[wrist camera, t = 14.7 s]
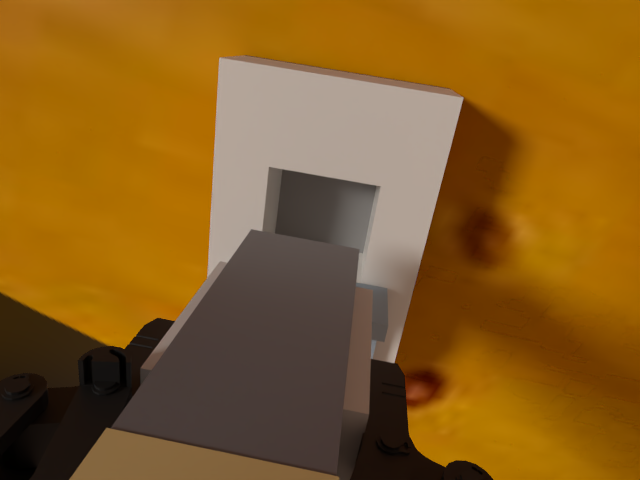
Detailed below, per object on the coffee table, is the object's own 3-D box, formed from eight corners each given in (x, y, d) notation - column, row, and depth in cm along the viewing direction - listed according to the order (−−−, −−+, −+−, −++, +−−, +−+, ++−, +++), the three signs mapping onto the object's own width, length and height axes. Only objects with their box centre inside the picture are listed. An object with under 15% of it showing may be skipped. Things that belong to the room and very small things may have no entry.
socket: (246, 55, 27) (219, 57, 23) (449, 88, 27) (463, 97, 22) (228, 289, 34) (204, 328, 29) (391, 320, 33) (393, 365, 29)
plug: (250, 227, 19) (-2, 578, 6) (361, 248, 19) (322, 653, 6) (241, 321, 21) (31, 738, 8) (342, 341, 21) (283, 800, 8)
